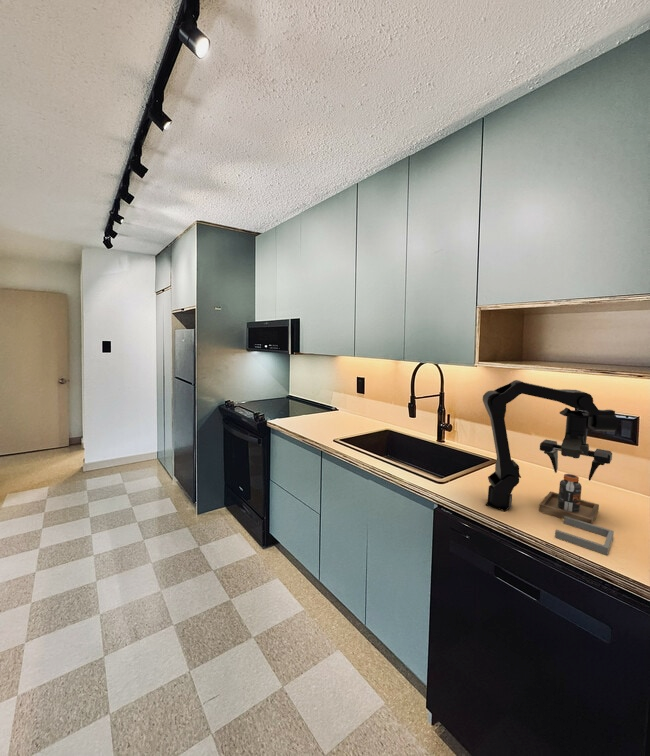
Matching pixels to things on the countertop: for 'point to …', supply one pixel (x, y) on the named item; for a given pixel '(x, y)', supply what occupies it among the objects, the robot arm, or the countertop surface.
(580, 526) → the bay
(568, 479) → the pill bottle
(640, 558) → the countertop surface
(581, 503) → the tray
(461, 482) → the countertop surface
